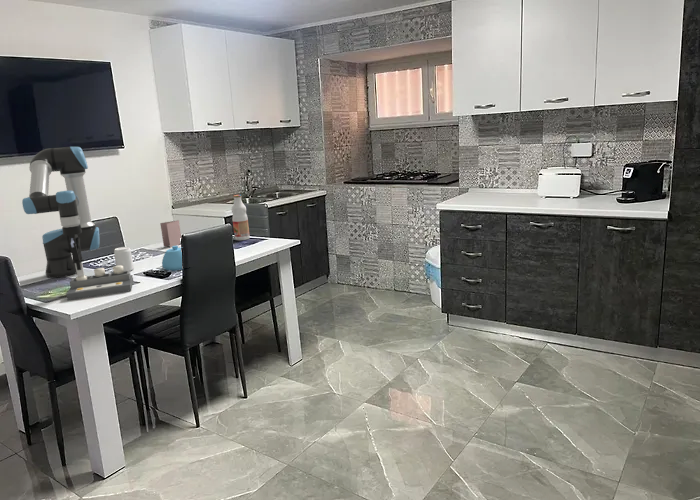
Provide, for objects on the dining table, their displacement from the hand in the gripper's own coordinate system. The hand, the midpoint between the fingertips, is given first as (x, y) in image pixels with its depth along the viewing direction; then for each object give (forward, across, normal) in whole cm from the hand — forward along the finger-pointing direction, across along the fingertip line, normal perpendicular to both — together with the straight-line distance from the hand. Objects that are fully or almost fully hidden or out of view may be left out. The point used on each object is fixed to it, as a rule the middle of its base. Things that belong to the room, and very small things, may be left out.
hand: (81, 276), depth 241 cm
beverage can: (+7, +30, -16) cm, 35 cm away
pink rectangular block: (+7, +80, -41) cm, 90 cm away
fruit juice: (+7, +74, -82) cm, 111 cm away
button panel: (+7, -3, -8) cm, 11 cm away
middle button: (+1, 0, -8) cm, 8 cm away
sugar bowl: (+8, +21, -42) cm, 48 cm away
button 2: (+1, 0, -16) cm, 16 cm away
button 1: (+3, 0, 0) cm, 3 cm away
